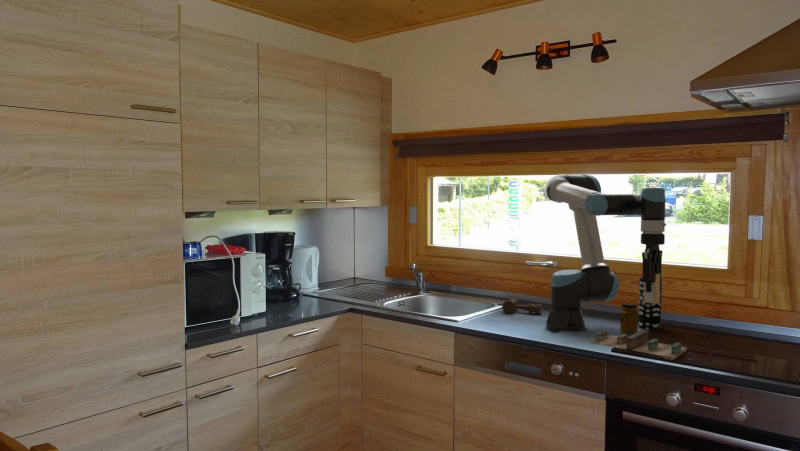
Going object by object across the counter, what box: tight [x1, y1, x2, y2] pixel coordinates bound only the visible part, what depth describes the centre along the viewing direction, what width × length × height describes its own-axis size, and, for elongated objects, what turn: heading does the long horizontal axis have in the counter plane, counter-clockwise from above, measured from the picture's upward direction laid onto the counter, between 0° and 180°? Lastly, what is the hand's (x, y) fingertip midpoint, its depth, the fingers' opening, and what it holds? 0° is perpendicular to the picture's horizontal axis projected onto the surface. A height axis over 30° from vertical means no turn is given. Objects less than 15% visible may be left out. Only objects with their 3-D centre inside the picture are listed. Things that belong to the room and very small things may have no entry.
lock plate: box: [589, 328, 688, 361], centre depth 204 cm, size 28×16×5 cm, turn 49°
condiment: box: [620, 302, 639, 335], centre depth 221 cm, size 7×8×12 cm
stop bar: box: [644, 273, 660, 304], centre depth 199 cm, size 4×4×10 cm
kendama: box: [496, 298, 543, 316], centre depth 262 cm, size 6×10×20 cm
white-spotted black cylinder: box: [637, 276, 663, 331], centre depth 234 cm, size 8×8×20 cm
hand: (651, 300), depth 199 cm, fingers closed on stop bar, 4 cm apart
